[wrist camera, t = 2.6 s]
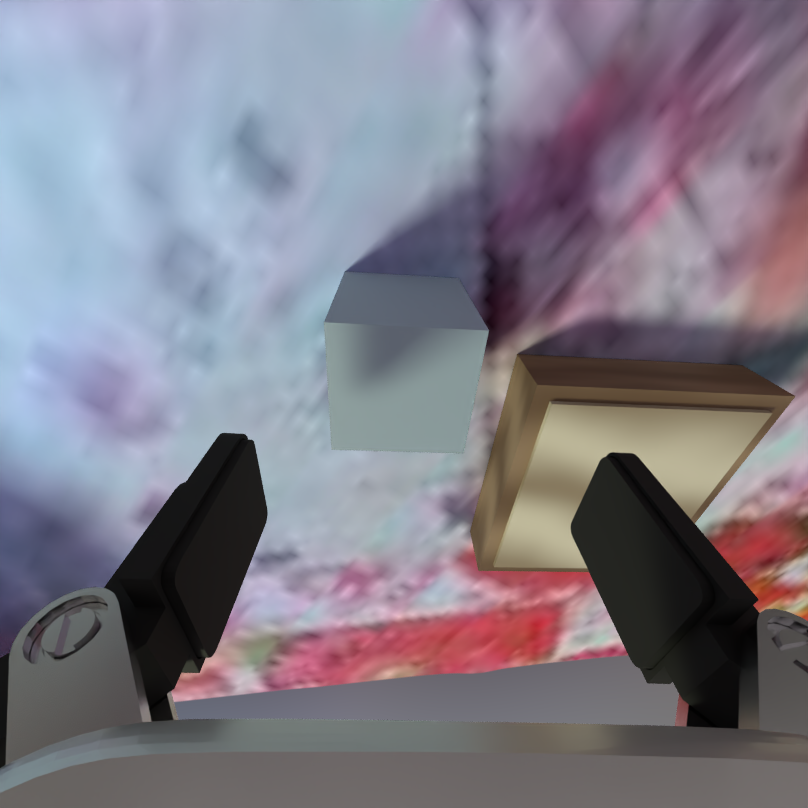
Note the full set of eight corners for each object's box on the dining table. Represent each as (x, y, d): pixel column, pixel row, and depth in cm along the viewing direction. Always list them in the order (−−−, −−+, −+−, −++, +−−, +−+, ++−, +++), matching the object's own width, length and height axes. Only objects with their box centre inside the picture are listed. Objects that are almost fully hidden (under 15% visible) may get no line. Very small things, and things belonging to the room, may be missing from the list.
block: (344, 271, 16) (324, 322, 11) (458, 277, 16) (489, 330, 11) (347, 371, 19) (331, 449, 14) (444, 375, 19) (463, 453, 14)
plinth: (517, 354, 18) (539, 388, 15) (742, 365, 19) (800, 399, 16) (470, 531, 26) (479, 574, 23) (630, 534, 27) (657, 576, 24)
